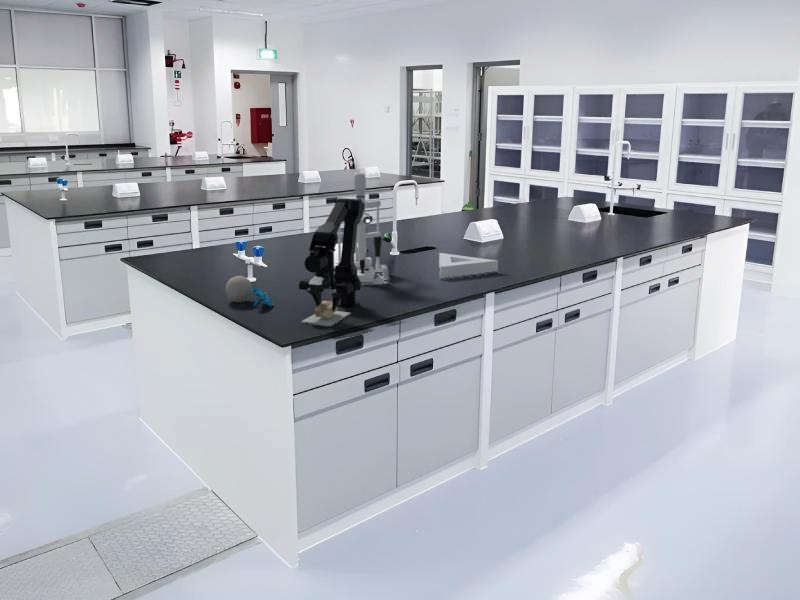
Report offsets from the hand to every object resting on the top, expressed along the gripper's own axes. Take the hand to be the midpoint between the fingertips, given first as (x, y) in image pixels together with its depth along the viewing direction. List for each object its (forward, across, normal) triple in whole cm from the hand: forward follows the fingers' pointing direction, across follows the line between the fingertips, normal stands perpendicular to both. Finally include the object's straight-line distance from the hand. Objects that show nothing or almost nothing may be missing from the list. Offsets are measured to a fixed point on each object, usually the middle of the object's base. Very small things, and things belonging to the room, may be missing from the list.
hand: (326, 310), depth 242 cm
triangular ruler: (+4, +25, +89) cm, 92 cm away
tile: (+1, 0, 0) cm, 1 cm away
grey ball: (+3, -40, +6) cm, 41 cm away
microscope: (+3, -14, +58) cm, 60 cm away
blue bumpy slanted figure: (+3, -29, +5) cm, 29 cm away
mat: (+3, 0, 0) cm, 3 cm away
